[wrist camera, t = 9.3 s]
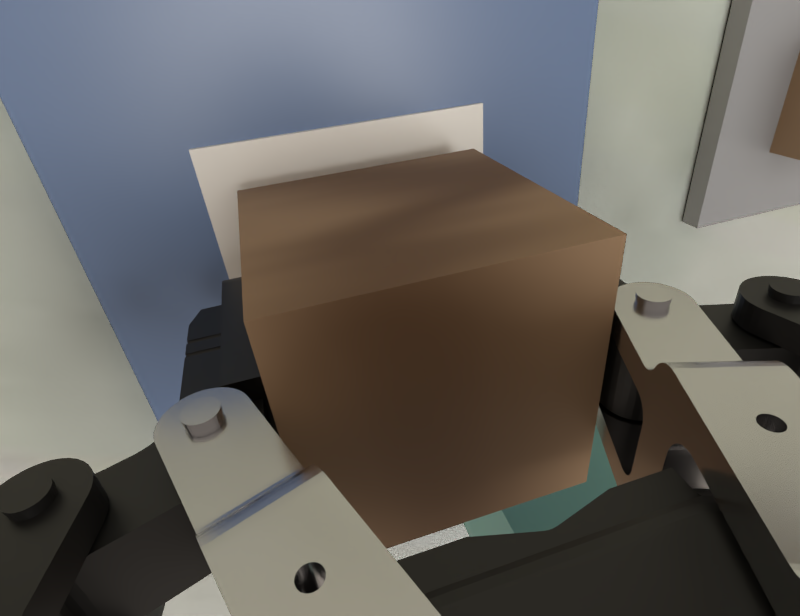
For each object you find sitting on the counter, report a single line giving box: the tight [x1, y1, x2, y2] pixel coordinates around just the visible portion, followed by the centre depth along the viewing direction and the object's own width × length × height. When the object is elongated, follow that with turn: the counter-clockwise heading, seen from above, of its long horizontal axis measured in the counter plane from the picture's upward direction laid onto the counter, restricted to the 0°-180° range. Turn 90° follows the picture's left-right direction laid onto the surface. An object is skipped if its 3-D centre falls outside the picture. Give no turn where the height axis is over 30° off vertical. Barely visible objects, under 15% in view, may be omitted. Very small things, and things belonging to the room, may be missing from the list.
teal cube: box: [464, 426, 617, 537], centre depth 17 cm, size 5×5×5 cm
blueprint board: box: [0, 0, 598, 421], centre depth 13 cm, size 12×12×1 cm
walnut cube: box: [237, 149, 627, 548], centre depth 10 cm, size 5×5×5 cm
